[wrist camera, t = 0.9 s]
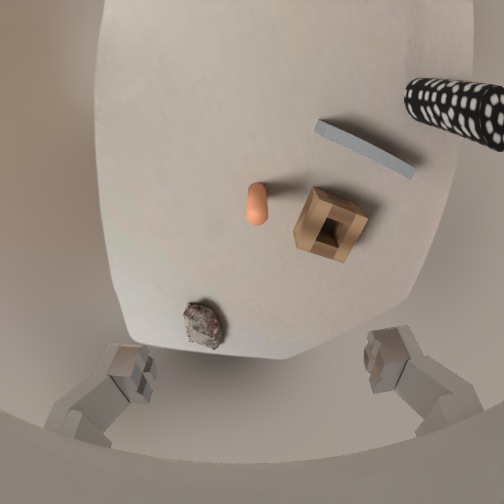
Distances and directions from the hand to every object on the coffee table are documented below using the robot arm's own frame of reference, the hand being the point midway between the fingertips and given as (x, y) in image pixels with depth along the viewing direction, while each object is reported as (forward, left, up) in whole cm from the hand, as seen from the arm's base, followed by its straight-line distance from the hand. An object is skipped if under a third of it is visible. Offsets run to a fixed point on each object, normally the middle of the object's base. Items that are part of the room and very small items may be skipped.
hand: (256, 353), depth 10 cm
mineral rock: (+41, +1, -41) cm, 58 cm away
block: (+8, +16, -40) cm, 44 cm away
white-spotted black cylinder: (-19, +24, -40) cm, 50 cm away
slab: (-6, +16, -40) cm, 43 cm away
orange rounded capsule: (+8, +3, -40) cm, 41 cm away
